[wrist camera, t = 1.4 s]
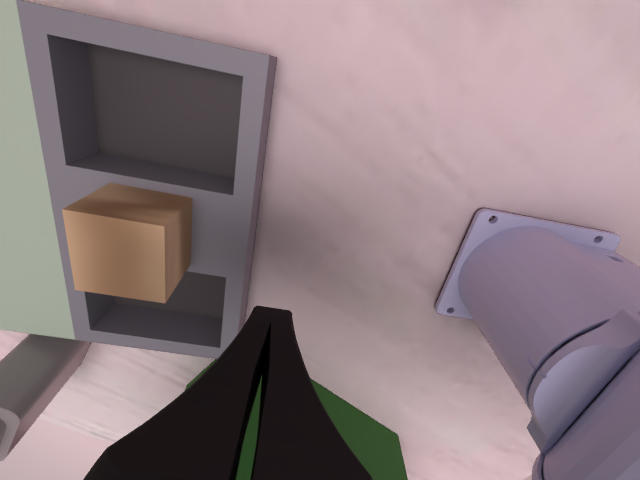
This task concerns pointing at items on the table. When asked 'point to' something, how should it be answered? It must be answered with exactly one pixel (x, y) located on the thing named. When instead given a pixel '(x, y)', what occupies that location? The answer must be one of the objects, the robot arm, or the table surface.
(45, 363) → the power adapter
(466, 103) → the table surface
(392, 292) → the table surface
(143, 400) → the table surface
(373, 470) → the hardback book
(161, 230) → the maple block
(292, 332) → the robot arm
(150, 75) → the box
